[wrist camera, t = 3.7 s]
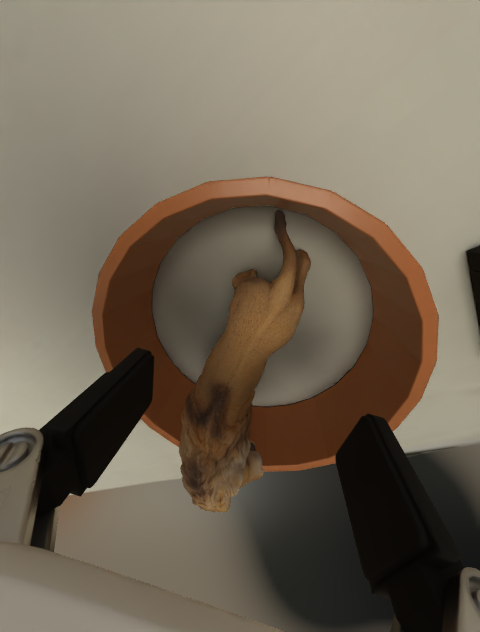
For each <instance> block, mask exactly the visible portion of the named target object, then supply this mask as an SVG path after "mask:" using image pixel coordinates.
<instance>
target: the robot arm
mask: <svg viewBox="0 0 480 632" xmlns="http://www.w3.org/2000/svg"><path fill="white" fill-rule="evenodd" d="M153 378H154V356H153V355H152V353H151V351H148V350H145V349H141V348H136V349H135V350H134V351H133V352H131V353H130V354H129V355H128V356H127V357H126V358H125V359H124V360H122V361H121V362H120V363H119V364H118V365H117V366H116V367H115V368H113V369H112V370H111V371H110V372H107V373H105V374H103V375H102V376H101V377H100V378H99V379H97V380H96V381H95V382H94V383H93V384H92V385H91V386H89V387H88V388H87V389H86V390H85V391H84V392H83V393H81V394H80V395H79V396H78V397H77V398H76V399H74V400H73V401H72V402H71V403H70V404H69V405H68V406H66V407H65V408H64V409H63V410H62V411H61V412H59V413H58V414H57V415H56V416H55V417H54V418H53V419H51V420H50V421H49V422H48V423H47V424H46V425H45V426H43V427H42V428H41V429H40V430H37V429H35V428H20V429H15V430H12V431H9V432H6V433H3V434H1V435H0V632H285V631H282V630H279V629H276V628H273V627H271V626H268V625H265V624H262V623H259V622H256V621H254V620H251V619H248V618H245V617H242V616H239V615H237V614H234V613H231V612H228V611H225V610H222V609H219V608H216V607H214V606H211V605H208V604H205V603H202V602H199V601H197V600H194V599H191V598H188V597H185V596H182V595H180V594H177V593H174V592H171V591H168V590H165V589H162V588H159V587H156V586H154V585H150V584H148V583H145V582H142V581H139V580H136V579H133V578H130V577H127V576H125V575H121V574H119V573H115V572H113V571H110V570H107V569H104V568H101V567H98V566H95V565H92V564H89V563H86V562H83V561H80V560H76V559H73V558H70V557H67V556H64V555H60V554H58V553H54V546H55V538H56V529H57V521H58V512H59V506H60V505H61V504H62V503H63V501H64V500H65V499H66V498H67V496H68V495H69V494H70V493H71V494H74V495H77V496H81V495H82V494H83V493H84V491H85V490H86V488H91V487H92V486H93V485H94V484H95V483H96V482H97V480H98V479H99V477H100V476H101V474H102V473H103V472H104V470H105V469H106V467H107V466H108V464H109V463H110V462H111V460H112V459H113V457H114V456H115V454H116V453H117V452H118V450H119V449H120V447H121V446H122V444H123V443H124V442H125V440H126V439H127V437H128V436H129V434H130V433H131V432H132V430H133V429H134V427H135V426H136V424H137V423H138V421H139V420H140V419H141V417H142V416H143V414H144V413H145V411H146V410H147V409H148V407H149V406H150V404H151V402H152V398H153ZM335 460H336V465H337V469H338V473H339V477H340V481H341V485H342V489H343V493H344V497H345V501H346V505H347V509H348V513H349V518H350V521H351V526H352V529H353V534H354V537H355V542H356V546H357V550H358V554H359V558H360V562H361V566H362V570H363V573H364V575H365V577H366V578H367V579H368V580H369V583H370V586H371V591H372V594H374V595H377V596H380V597H383V598H386V599H391V602H392V605H393V609H394V612H395V615H394V618H393V623H392V627H391V631H390V632H480V571H479V570H477V569H475V568H470V567H467V568H465V569H464V567H463V566H462V564H461V562H460V560H461V559H462V558H463V557H462V556H461V554H460V552H459V550H458V548H457V546H456V545H455V543H454V541H453V539H452V538H451V536H450V534H449V532H448V530H447V529H446V527H445V525H444V523H443V521H442V520H441V518H440V516H439V514H438V513H437V511H436V509H435V507H434V505H433V503H432V502H431V500H430V498H429V496H428V494H427V493H426V491H425V489H424V487H423V486H422V484H421V482H420V480H419V479H418V476H417V475H416V473H415V471H414V469H413V468H412V466H411V464H410V462H409V460H408V459H407V457H406V455H405V453H404V451H403V450H402V448H401V446H400V444H399V442H398V441H397V439H396V437H395V435H394V433H393V432H392V430H391V428H390V426H389V424H388V423H387V421H386V420H385V419H384V418H383V417H379V416H376V415H372V414H366V415H365V416H362V417H361V418H360V419H359V421H358V422H357V424H356V425H355V427H354V428H353V430H352V431H351V432H350V434H349V435H348V437H347V438H346V440H345V441H344V443H343V444H342V445H341V447H340V448H339V450H338V451H337V453H336V457H335Z"/></svg>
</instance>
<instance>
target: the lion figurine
mask: <svg viewBox="0 0 480 632" xmlns="http://www.w3.org/2000/svg"><path fill="white" fill-rule="evenodd" d="M275 232H276V234H277V236H278V238H279V241H280V243H281V246H282V248H283V256H284V260H283V266H282V269H281V272H280V275H279V277H278V278H276V279H274V280H273V281H272V282H270V283H269V282H267V281H266V280H264V279H262V278H256V277H257V272H256V270H254V269H251V270H249V271H247V272H242V273H239V274H238V275H236V276H235V277H234V278H233V280H232V285H233V288H234V289H235V292H234V297H233V299H232V301H231V303H230V306H229V317H228V322H227V327H226V331H225V332H224V333H223V334H222V335H221V337H220V338H219V340H218V342H217V344H216V346H215V347H214V348H213V350H212V352H211V354H210V355H209V357H208V359H207V361H206V364H205V367H204V369H203V372H202V374H201V375H200V377H199V379H198V381H197V384H196V386H195V387H194V388H193V389H192V390H191V391H190V393H189V394H188V396H187V397H186V401H185V405H184V410H183V411H182V413H181V421H182V425H183V427H182V432H181V436H180V439H181V441H180V444H179V453H180V456H181V460H182V465H181V473H182V475H183V477H182V481H183V485H184V487H185V489H186V490H187V491H188V493H189V494H190V495H191V497H192V501H193V504H194V505H198V506H199V507H200V508H201V509H203V510H205V511H212V512H215V511H217V512H227V511H228V509H229V507H230V503H231V496H235V495H237V493H238V492H239V489H240V488H241V487H242V486H244V485H246V483H248V482H250V481H253V480H257V479H259V478H260V477H261V476H262V475H263V469H262V459H261V456H260V454H259V453H258V452H257V451H255V444H254V442H252V441H250V440H249V437H250V423H251V418H252V400H253V398H254V394H255V391H254V389H255V388H256V386H257V384H258V382H259V380H260V378H261V375H262V373H263V370H264V367H265V364H266V360H267V358H268V357H269V356H270V355H271V354H272V353H274V352H275V351H277V350H278V349H279V348H280V347H282V346H283V345H284V344H285V343H287V342H288V341H289V340H290V339H291V337H292V336H293V334H294V332H295V330H296V327H297V325H298V322H299V320H300V317H301V315H302V312H303V309H304V282H305V279H306V276H307V272H308V271H309V269H310V265H311V261H310V258H309V256H308V254H307V252H305V251H303V250H301V249H299V250H296V251H295V249H294V246H293V244H292V243H291V241H290V239H289V236H288V234H287V232H286V221H285V215H284V213H283V212H282V211H281V210H278V211H276V214H275Z"/></svg>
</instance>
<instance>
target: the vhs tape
mask: <svg viewBox="0 0 480 632" xmlns="http://www.w3.org/2000/svg"><path fill="white" fill-rule="evenodd" d="M467 252H468V258H469V264H470V269H471V270H472V271H471V277H472V283H473V289H474V294H475V300H476V306H477V312H478V317H479V323H480V246H479V247H476V248H474V249H471V250H469V251H467Z"/></svg>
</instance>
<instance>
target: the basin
mask: <svg viewBox="0 0 480 632" xmlns="http://www.w3.org/2000/svg"><path fill="white" fill-rule="evenodd" d="M267 205H270V206H274V207H279V208H283V209H287V210H291V211H295V212H300V213H304V214H306V215H308V216H310V217H311V218H313V219H315V220H316V221H318V222H320V223H322V224H323V225H325V226H327V227H328V228H330V229H332V230H333V231H335V232H337V234H338V235H339V236H340V237H341V238H342V239H343V240H344V242H345V243H346V244H347V245H348V246H349V247H350V248H351V249H352V251H353V252H354V253H355V254H356V255H357V256H358V257H359V259H360V261H361V264H362V266H363V268H364V271H365V273H366V275H367V278H368V280H369V283H370V285H371V287H372V299H373V311H374V319H373V323H372V327H371V331H370V335H369V340H368V344H367V345H366V347H365V349H364V351H363V352H362V354H361V356H360V357H359V359H358V361H357V363H356V364H355V366H354V367H353V368H352V369H351V370H350V371H349V372H348V373H347V374H346V375H345V376H344V377H343V378H342V379H341V380H340V381H339V382H338V383H337V384H336V385H334V386H333V387H331V388H329V389H328V390H326V391H324V392H323V393H321V394H319V395H317V396H316V397H314V398H311V399H308V400H305V401H302V402H298V403H295V404H292V405H285V406H276V407H256V406H252V418H251V423H250V437H249V440H250V441H252V442H254V444H255V451H257V452H258V453H259V454H260V456H261V459H262V469H263V471H297V470H304V469H309V468H314V467H319V466H324V465H328V464H333V463H336V460H335V457H336V453H337V451H338V450H339V448H340V447H341V445H342V444H343V443H344V441H345V440H346V438H347V437H348V435H349V434H350V432H351V431H352V430H353V428H354V427H355V425H356V424H357V422H358V421H359V419H360V418H361V417H362V416H365V415H366V414H372V415H376V416H379V417H383V418H384V419H385V420H386V421H387V423H388V424H389V426H390V428H391V430H392V431H394V430H395V429H396V428H397V427H398V426H399V425H400V424H401V422H402V421H403V420H404V419H405V418H406V416H407V415H408V414H409V413H410V412H411V411H412V409H413V408H414V407H415V406H416V405H417V403H418V402H419V401H420V399H421V398H422V395H423V393H424V391H425V388H426V386H427V383H428V381H429V379H430V376H431V374H432V371H433V369H434V367H435V364H436V361H437V343H438V321H439V317H438V313H437V310H436V307H435V304H434V301H433V298H432V295H431V292H430V289H429V286H428V283H427V280H426V277H425V274H424V271H423V269H422V267H421V266H420V264H419V263H418V262H417V261H416V260H415V258H414V257H413V256H412V255H411V253H410V252H409V251H408V250H407V249H406V247H405V246H404V245H403V244H402V242H401V241H400V240H399V239H398V238H397V236H396V235H395V234H394V233H393V231H392V230H391V229H390V228H389V227H388V225H386V224H385V223H384V222H383V221H381V220H379V219H378V218H376V217H374V216H373V215H371V214H369V213H368V212H366V211H365V210H363V209H361V208H360V207H358V206H356V205H355V204H353V203H351V202H350V201H348V200H346V199H345V198H343V197H341V196H340V195H338V194H337V193H335V192H332V191H330V190H326V189H322V188H317V187H313V186H309V185H304V184H300V183H296V182H292V181H287V180H283V179H279V178H274V177H257V178H245V179H233V180H221V181H209V182H206V183H203V184H201V185H199V186H196V187H194V188H191V189H189V190H187V191H184V192H182V193H180V194H177V195H175V196H173V197H170V198H168V199H165V200H163V201H161V202H158V203H157V204H155V205H154V206H153V207H152V208H151V209H150V210H148V211H147V212H146V213H145V214H144V215H143V216H142V217H141V218H140V219H138V220H137V221H136V222H135V223H134V224H133V225H132V226H131V227H129V228H128V229H127V230H126V231H125V232H124V233H123V234H122V235H121V236H120V237H119V238H118V240H117V242H116V244H115V245H114V247H113V249H112V251H111V253H110V254H109V256H108V258H107V260H106V262H105V263H104V265H103V267H102V269H101V271H100V272H99V276H98V282H97V287H96V293H95V298H94V303H93V309H92V317H93V325H94V334H95V343H96V348H97V350H98V353H99V356H100V358H101V361H102V363H103V366H104V368H105V371H106V373H107V372H110V371H111V370H112V369H113V368H115V367H116V366H117V365H118V364H119V363H120V362H121V361H122V360H124V359H125V358H126V357H127V356H128V355H129V354H130V353H131V352H133V351H134V350H135V349H136V348H141V349H145V350H148V351H151V353H152V355H153V356H154V378H153V398H152V402H151V404H150V406H149V407H148V409H147V410H146V411H145V413H144V414H143V416H142V417H141V419H142V420H143V421H144V422H145V423H146V424H147V425H148V426H149V427H150V428H151V429H153V430H154V431H156V432H157V433H158V434H160V435H161V436H163V437H164V438H166V439H167V440H169V441H170V442H172V443H173V444H174V445H176V446H178V447H179V444H180V441H181V439H180V436H181V432H182V427H183V425H182V421H181V413H182V411H183V410H184V405H185V401H186V397H187V396H188V394H189V393H190V391H191V390H192V389H193V388H194V387H195V386H196V385H195V384H194V383H193V382H192V381H190V380H189V379H188V378H186V377H185V376H184V375H183V374H182V373H181V372H180V371H179V370H178V369H177V367H176V366H175V365H174V364H173V363H172V361H171V360H170V359H169V358H168V356H167V355H166V353H165V351H164V349H163V347H162V345H161V343H160V341H159V339H158V337H157V334H156V330H155V325H154V321H153V317H152V313H151V312H152V286H153V283H154V280H155V277H156V274H157V271H158V268H159V265H160V262H161V261H162V259H163V258H164V257H165V255H166V254H167V252H168V251H169V249H170V248H171V247H172V245H173V244H174V242H175V241H176V239H177V238H179V237H180V236H181V235H182V234H184V233H185V232H186V231H188V230H189V229H190V228H191V227H193V226H194V225H195V224H197V223H198V222H199V221H200V220H202V219H204V218H207V217H210V216H212V215H215V214H218V213H220V212H223V211H226V210H228V209H231V208H235V207H251V206H267Z"/></svg>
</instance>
